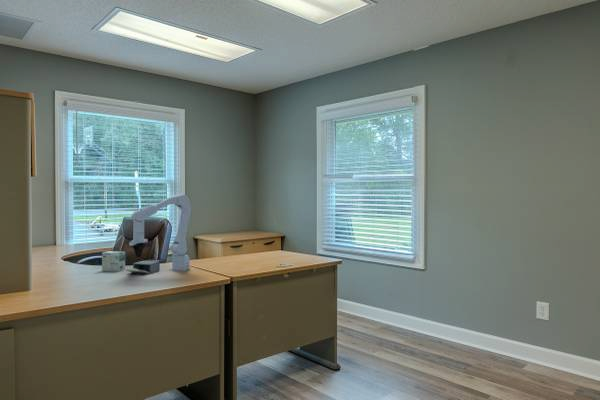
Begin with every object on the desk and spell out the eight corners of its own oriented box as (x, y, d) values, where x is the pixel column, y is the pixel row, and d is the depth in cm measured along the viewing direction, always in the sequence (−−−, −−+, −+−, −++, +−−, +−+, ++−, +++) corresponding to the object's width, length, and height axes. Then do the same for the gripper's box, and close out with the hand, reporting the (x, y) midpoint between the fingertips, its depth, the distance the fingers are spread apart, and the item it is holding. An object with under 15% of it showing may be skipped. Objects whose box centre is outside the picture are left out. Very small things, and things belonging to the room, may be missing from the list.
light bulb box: (125, 269, 244) (125, 251, 244) (119, 272, 237) (119, 252, 237) (107, 269, 245) (108, 250, 245) (101, 271, 239) (101, 252, 238)
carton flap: (149, 272, 232) (140, 268, 224) (149, 273, 232) (140, 270, 224) (132, 271, 234) (123, 267, 226) (132, 272, 234) (122, 269, 226)
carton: (159, 271, 242) (159, 261, 242) (150, 274, 233) (150, 264, 233) (142, 270, 244) (142, 260, 244) (132, 273, 235) (133, 263, 235)
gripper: (139, 231, 241) (139, 254, 241) (124, 233, 227) (124, 258, 227) (151, 231, 239) (150, 255, 240) (136, 234, 225) (135, 259, 225)
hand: (138, 257), depth 233 cm, fingers closed
